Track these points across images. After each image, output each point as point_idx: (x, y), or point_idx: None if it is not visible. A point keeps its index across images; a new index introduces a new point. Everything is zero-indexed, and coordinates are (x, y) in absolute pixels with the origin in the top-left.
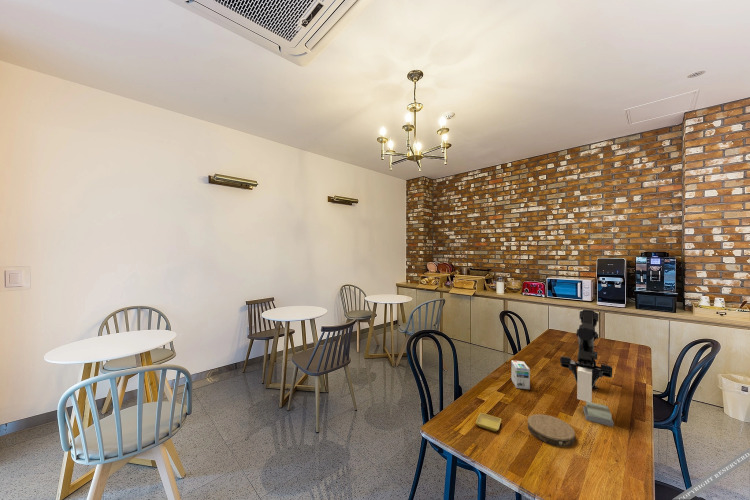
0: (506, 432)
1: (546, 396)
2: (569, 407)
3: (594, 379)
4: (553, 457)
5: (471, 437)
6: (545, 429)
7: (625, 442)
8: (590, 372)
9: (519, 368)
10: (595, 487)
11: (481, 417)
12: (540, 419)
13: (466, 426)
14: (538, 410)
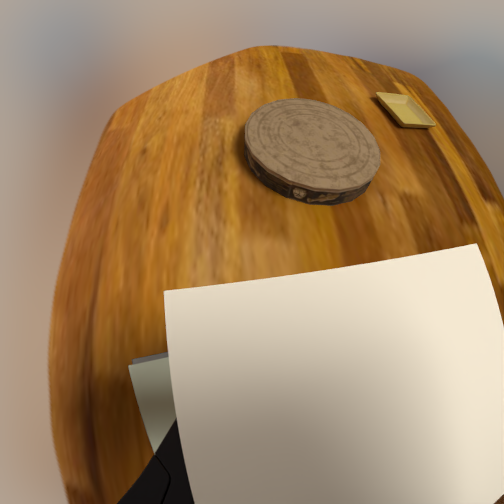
0: (368, 107)
1: None
2: None
3: (174, 441)
4: (264, 89)
5: (382, 80)
6: (314, 116)
7: (106, 260)
8: (213, 371)
9: None
10: (189, 76)
11: (426, 123)
12: (352, 149)
13: (411, 97)
14: None
